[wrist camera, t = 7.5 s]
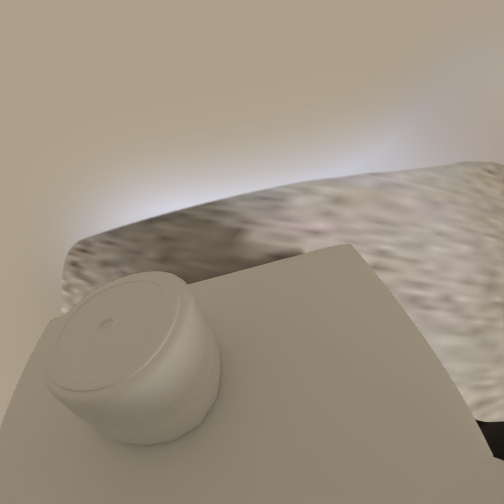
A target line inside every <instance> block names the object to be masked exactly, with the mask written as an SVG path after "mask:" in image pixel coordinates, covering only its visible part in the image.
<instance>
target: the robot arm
mask: <svg viewBox="0 0 504 504" xmlns="http://www.w3.org/2000/svg"><path fill="white" fill-rule="evenodd" d="M475 420H476V419H475ZM476 422H477V424H478V426H479V428H480V430H481V432H482V434H483V436H484V438H485V440H486V442H487V444H488V446H489V448H490V450H491V452H492V454H493V457H495V458H498V459H500V460H503V461H504V421H502V422H483V421H479V420H476Z"/></svg>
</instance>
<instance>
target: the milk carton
mask: <svg viewBox="0 0 504 504" xmlns="http://www.w3.org/2000/svg"><path fill="white" fill-rule="evenodd" d="M0 504H504V461H503V460H500V459H498V458H495V457H493V454H492V452H491V450H490V448H489V446H488V444H487V442H486V440H485V438H484V436H483V434H482V432H481V430H480V428H479V426H478V424H477V422H476V420H475V418H474V417H473V415H472V413H471V411H470V409H469V408H468V406H467V404H466V402H465V401H464V399H463V397H462V396H461V394H460V392H459V391H458V389H457V387H456V386H455V384H454V382H453V381H452V379H451V378H450V376H449V374H448V373H447V371H446V370H445V368H444V367H443V365H442V363H441V362H440V360H439V359H438V357H437V356H436V354H435V353H434V351H433V350H432V348H431V347H430V346H429V344H428V343H427V341H426V340H425V338H424V337H423V335H422V334H421V333H420V331H419V330H418V328H417V327H416V326H415V324H414V323H413V321H412V320H411V319H410V317H409V316H408V315H407V313H406V312H405V311H404V309H403V308H402V307H401V305H400V304H399V303H398V301H397V300H396V299H395V297H394V296H393V295H392V294H391V292H390V291H389V290H388V288H387V287H386V286H385V285H384V283H383V282H382V281H381V280H380V278H379V277H378V276H377V275H376V273H375V272H374V271H373V270H372V269H371V267H370V266H369V265H368V264H367V262H366V261H365V260H364V259H363V258H362V257H361V255H360V254H359V253H358V252H357V251H356V250H355V249H354V247H353V246H352V245H351V244H344V245H337V246H332V247H328V248H324V249H320V250H316V251H312V252H308V253H304V254H300V255H297V256H293V257H289V258H285V259H282V260H278V261H274V262H270V263H267V264H263V265H259V266H256V267H252V268H248V269H244V270H241V271H237V272H233V273H229V274H226V275H222V276H218V277H214V278H211V279H207V280H203V281H199V282H195V283H191V284H186V282H185V281H184V280H182V279H181V278H179V277H178V276H176V275H174V274H171V273H167V272H162V271H150V272H142V273H137V274H132V275H128V276H125V277H122V278H119V279H116V280H114V281H112V282H109V283H107V284H105V285H103V286H101V287H99V288H98V289H96V290H94V291H92V292H91V293H90V294H88V295H87V296H85V297H84V298H83V299H81V300H80V301H79V302H78V303H77V304H76V305H75V306H74V307H73V308H72V309H71V310H70V311H69V312H68V313H67V314H66V315H64V316H61V317H58V318H55V319H53V320H52V321H51V322H50V323H49V324H48V326H47V328H46V329H45V331H44V332H43V334H42V336H41V338H40V340H39V342H38V344H37V345H36V347H35V349H34V351H33V353H32V355H31V357H30V359H29V361H28V363H27V365H26V367H25V369H24V371H23V373H22V375H21V378H20V380H19V382H18V384H17V387H16V389H15V391H14V393H13V396H12V398H11V401H10V404H9V406H8V408H7V411H6V414H5V417H4V419H3V422H2V425H1V428H0Z"/></svg>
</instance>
